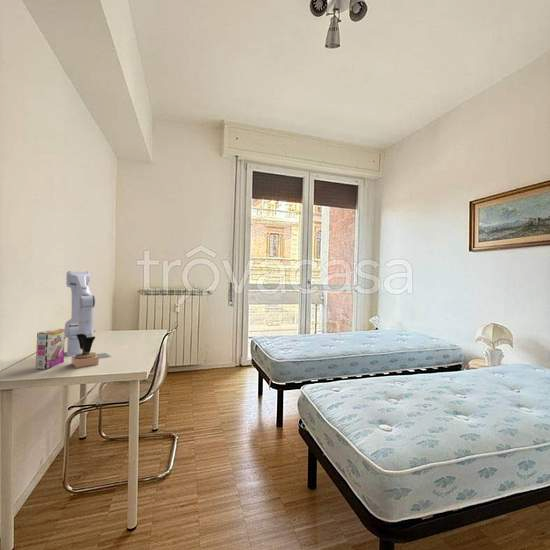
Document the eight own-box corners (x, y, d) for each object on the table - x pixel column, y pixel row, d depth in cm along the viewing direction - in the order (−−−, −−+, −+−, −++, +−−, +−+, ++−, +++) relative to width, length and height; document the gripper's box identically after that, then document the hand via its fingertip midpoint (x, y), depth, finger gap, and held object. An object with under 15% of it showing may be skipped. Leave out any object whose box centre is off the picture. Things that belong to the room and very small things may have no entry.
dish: (71, 364, 141) (71, 356, 141) (93, 361, 147) (93, 353, 147) (75, 369, 134) (75, 360, 134) (98, 365, 140) (98, 356, 140)
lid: (72, 356, 140) (73, 346, 140) (91, 353, 146) (92, 344, 146) (79, 359, 135) (79, 349, 135) (98, 356, 141) (98, 346, 141)
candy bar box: (46, 370, 132) (47, 332, 132) (35, 369, 132) (36, 332, 132) (64, 362, 143) (65, 328, 143) (54, 362, 144) (55, 328, 144)
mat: (84, 356, 154) (84, 356, 154) (105, 353, 161) (105, 352, 161) (89, 361, 147) (89, 360, 147) (111, 357, 154) (111, 356, 154)
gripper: (99, 322, 138) (99, 352, 138) (91, 318, 149) (91, 346, 149) (81, 324, 133) (81, 354, 133) (74, 320, 144) (74, 348, 144)
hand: (85, 350), depth 141 cm, fingers open, 7 cm apart
